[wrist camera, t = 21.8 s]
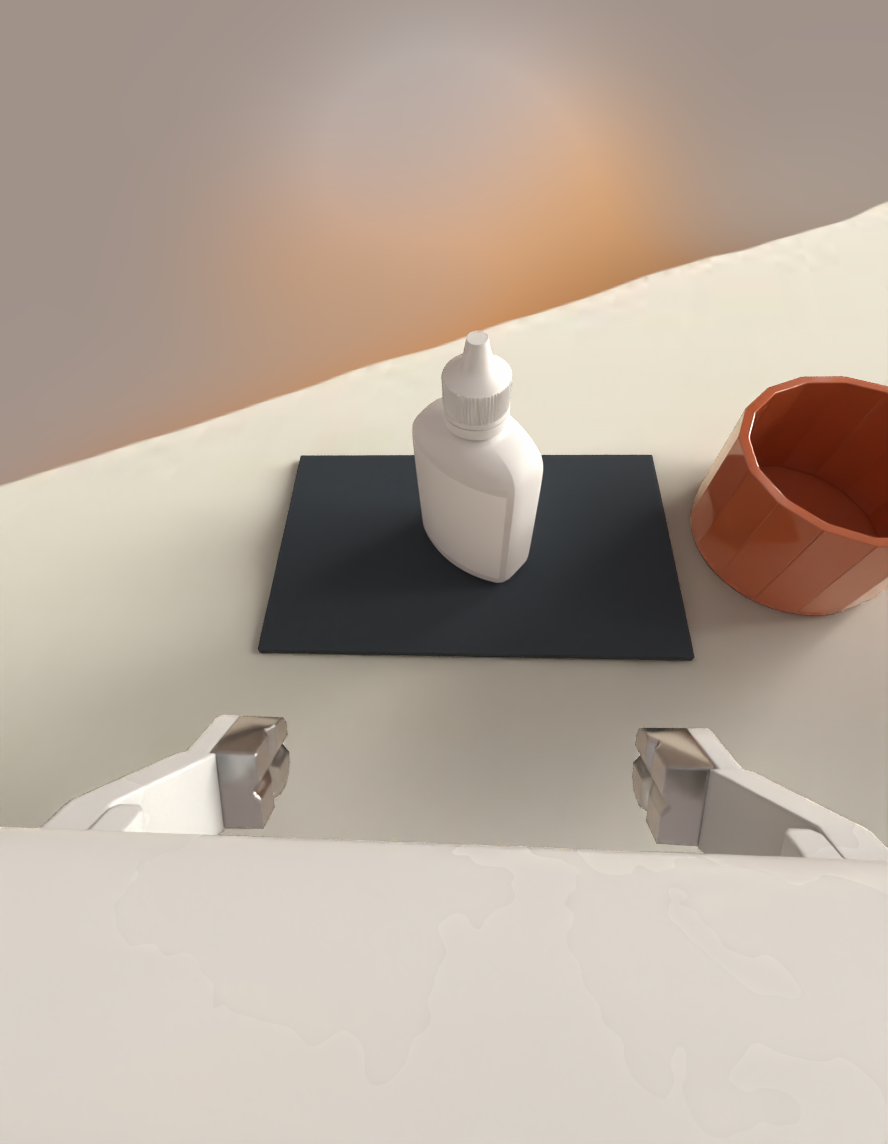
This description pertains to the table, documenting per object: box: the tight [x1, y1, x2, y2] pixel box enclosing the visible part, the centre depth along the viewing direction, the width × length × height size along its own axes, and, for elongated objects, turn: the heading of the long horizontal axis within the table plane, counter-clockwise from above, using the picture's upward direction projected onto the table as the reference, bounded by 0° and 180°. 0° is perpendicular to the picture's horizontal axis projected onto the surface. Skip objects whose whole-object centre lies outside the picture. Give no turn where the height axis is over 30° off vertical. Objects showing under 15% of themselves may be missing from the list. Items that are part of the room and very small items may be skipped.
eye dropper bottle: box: [412, 331, 543, 583], centre depth 22 cm, size 4×6×12 cm
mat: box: [258, 455, 694, 661], centre depth 27 cm, size 20×12×1 cm, turn 88°
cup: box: [691, 376, 888, 615], centre depth 25 cm, size 9×9×6 cm
